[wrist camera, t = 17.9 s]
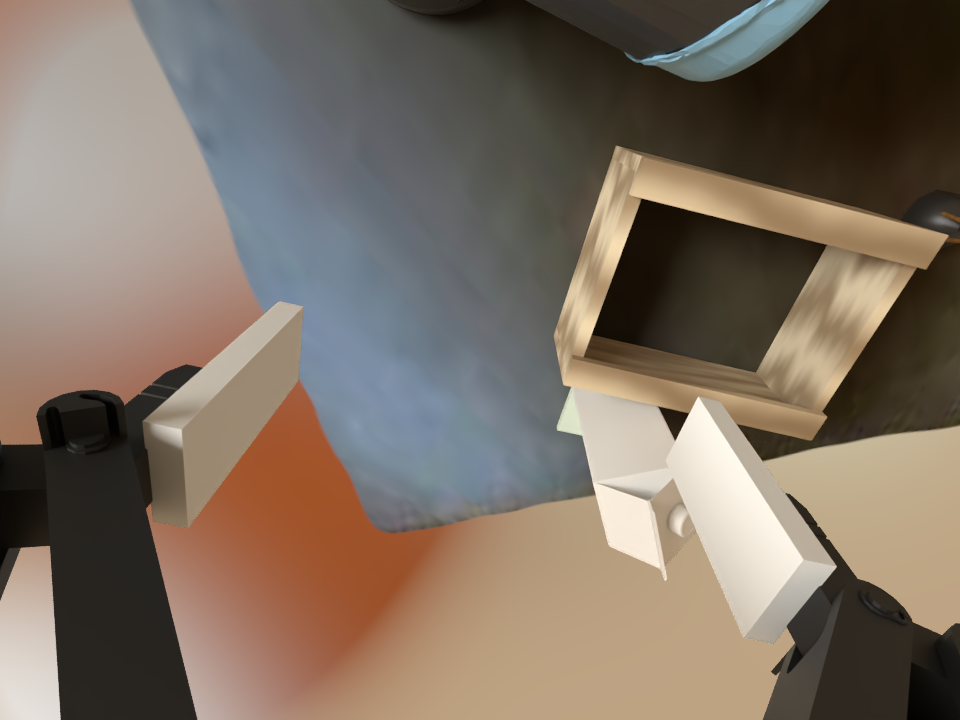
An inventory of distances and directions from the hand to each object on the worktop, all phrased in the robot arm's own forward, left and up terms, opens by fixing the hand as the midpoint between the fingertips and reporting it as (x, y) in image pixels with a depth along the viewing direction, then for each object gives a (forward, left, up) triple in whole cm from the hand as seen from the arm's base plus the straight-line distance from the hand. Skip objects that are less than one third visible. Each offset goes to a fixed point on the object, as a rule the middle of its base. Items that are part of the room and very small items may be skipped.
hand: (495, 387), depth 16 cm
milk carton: (+17, +16, -31) cm, 39 cm away
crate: (+2, +19, -32) cm, 37 cm away
